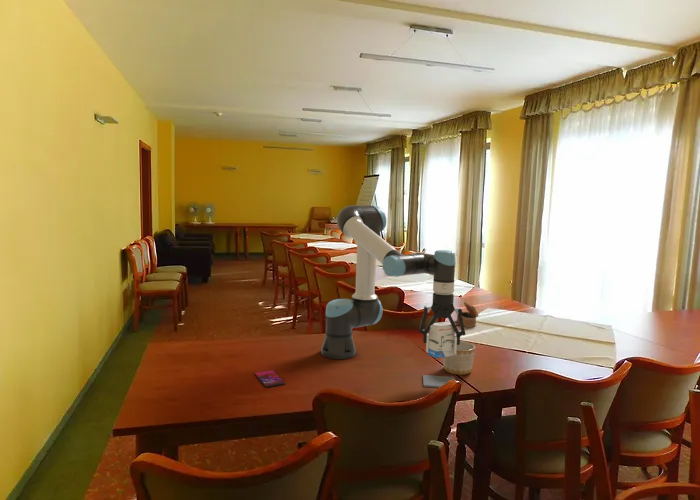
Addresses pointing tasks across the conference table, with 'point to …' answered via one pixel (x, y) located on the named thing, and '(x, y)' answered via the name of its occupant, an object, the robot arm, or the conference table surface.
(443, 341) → the ink box
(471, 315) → the box
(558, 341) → the conference table surface
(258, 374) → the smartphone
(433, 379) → the mat
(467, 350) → the planter
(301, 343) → the conference table surface
